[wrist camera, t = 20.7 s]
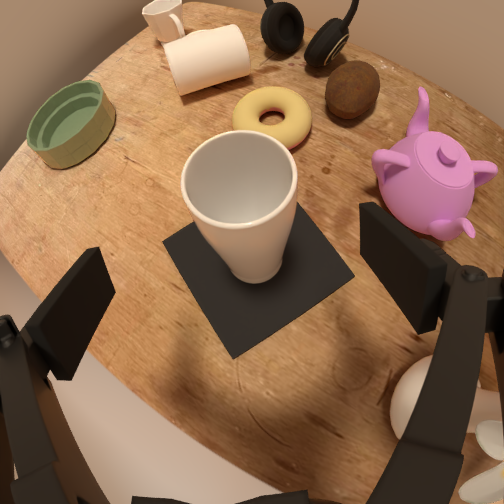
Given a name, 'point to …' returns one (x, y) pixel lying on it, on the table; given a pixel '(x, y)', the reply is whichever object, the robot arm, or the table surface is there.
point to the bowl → (71, 124)
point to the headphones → (292, 29)
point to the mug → (207, 58)
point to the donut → (274, 100)
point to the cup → (165, 19)
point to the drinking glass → (243, 200)
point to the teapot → (430, 179)
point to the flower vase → (481, 423)
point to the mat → (260, 294)
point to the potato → (352, 89)
